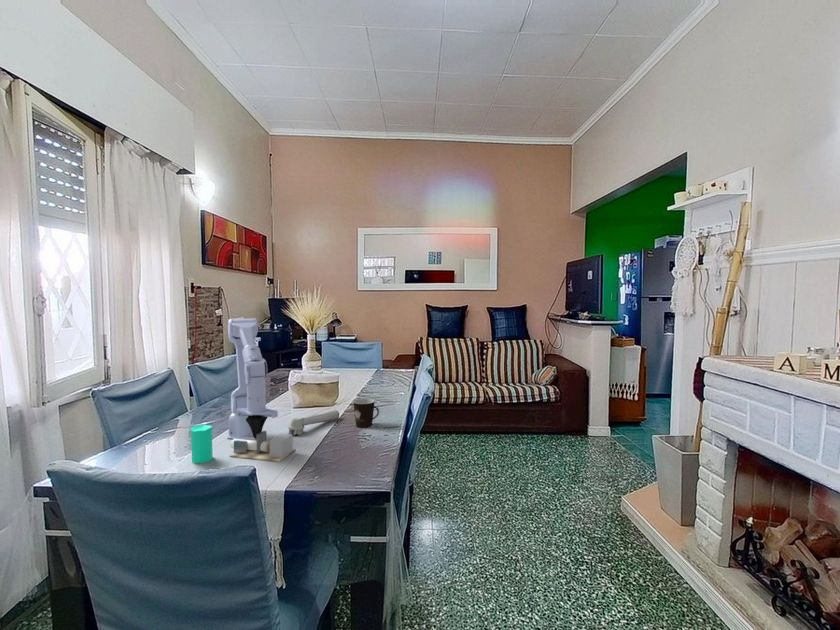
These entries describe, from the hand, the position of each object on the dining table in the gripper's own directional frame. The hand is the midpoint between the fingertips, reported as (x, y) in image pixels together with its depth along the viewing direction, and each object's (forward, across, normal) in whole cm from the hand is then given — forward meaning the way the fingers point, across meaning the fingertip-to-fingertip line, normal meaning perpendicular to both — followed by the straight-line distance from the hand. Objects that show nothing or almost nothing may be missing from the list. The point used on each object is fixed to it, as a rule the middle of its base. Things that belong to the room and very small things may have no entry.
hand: (257, 437), depth 136 cm
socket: (+5, +9, 0) cm, 10 cm away
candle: (+6, -14, -9) cm, 17 cm away
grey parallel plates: (+5, -5, 0) cm, 7 cm away
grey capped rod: (+6, +5, +29) cm, 30 cm away
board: (+5, +2, 0) cm, 6 cm away
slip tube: (+5, -2, 0) cm, 5 cm away
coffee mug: (+6, +25, +34) cm, 43 cm away
